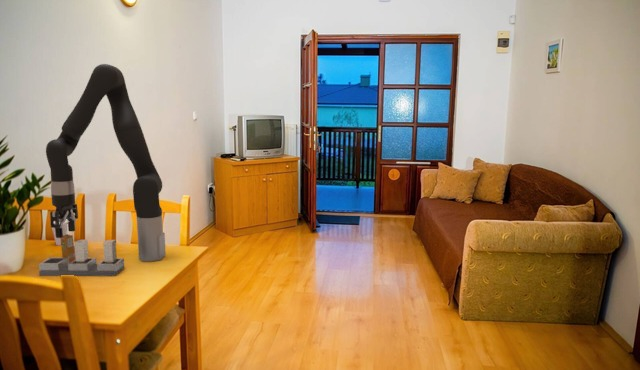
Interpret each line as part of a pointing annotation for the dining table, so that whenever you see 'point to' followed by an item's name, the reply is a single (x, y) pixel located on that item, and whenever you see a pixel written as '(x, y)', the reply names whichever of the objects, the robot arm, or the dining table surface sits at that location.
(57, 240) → the smoothie
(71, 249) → the supplement box
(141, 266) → the dining table surface
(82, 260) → the rail
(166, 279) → the dining table surface
